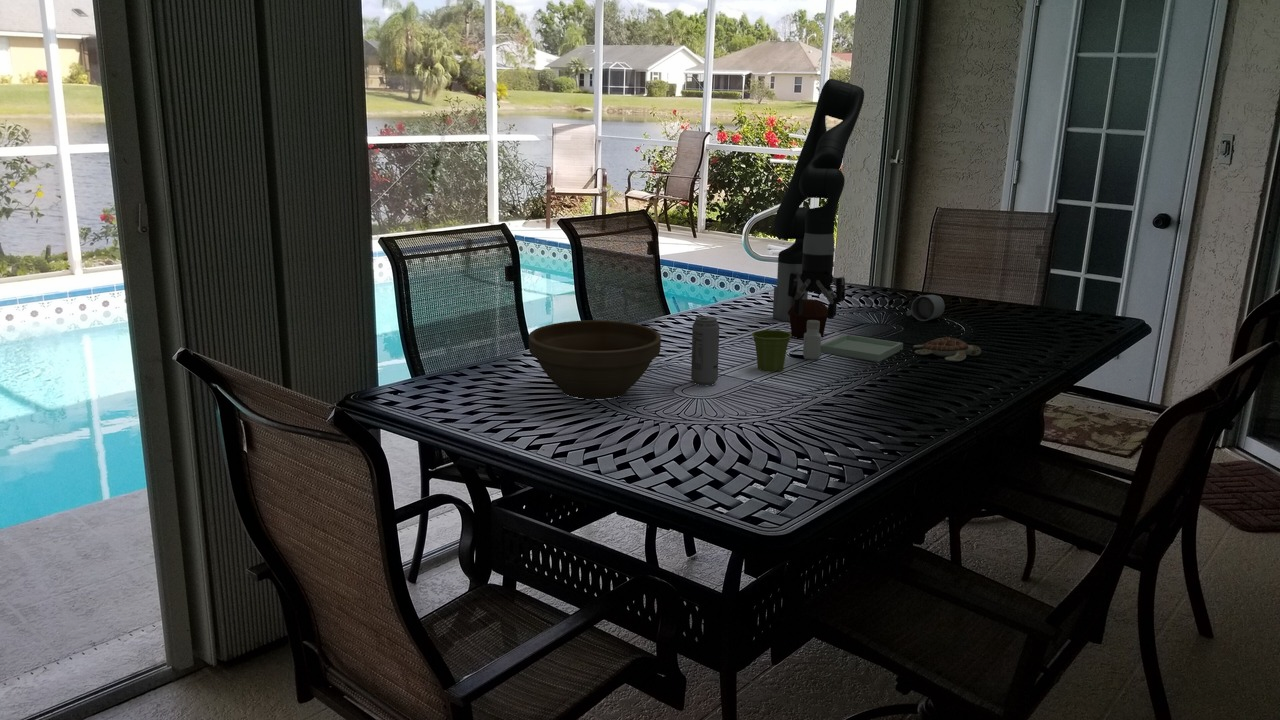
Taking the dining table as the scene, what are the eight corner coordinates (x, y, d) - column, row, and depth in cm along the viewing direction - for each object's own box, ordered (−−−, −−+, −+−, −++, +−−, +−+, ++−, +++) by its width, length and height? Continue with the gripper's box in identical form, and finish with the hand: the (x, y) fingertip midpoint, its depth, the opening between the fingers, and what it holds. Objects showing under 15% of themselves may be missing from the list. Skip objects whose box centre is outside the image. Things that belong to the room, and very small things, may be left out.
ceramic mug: (945, 318, 284) (947, 293, 282) (933, 323, 278) (935, 297, 277) (913, 314, 291) (914, 290, 289) (900, 318, 285) (902, 293, 283)
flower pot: (677, 406, 196) (678, 344, 193) (543, 416, 189) (542, 353, 185) (638, 371, 223) (639, 317, 219) (519, 379, 215) (518, 323, 212)
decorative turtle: (985, 367, 231) (987, 347, 230) (916, 363, 234) (917, 343, 233) (975, 349, 248) (977, 331, 247) (910, 346, 252) (912, 328, 250)
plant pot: (746, 372, 223) (747, 336, 221) (755, 362, 232) (757, 328, 229) (785, 376, 220) (787, 340, 218) (793, 366, 228) (795, 331, 226)
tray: (819, 352, 243) (820, 345, 242) (845, 340, 255) (846, 334, 255) (878, 361, 233) (879, 354, 233) (902, 349, 246) (903, 343, 245)
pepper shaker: (802, 355, 239) (804, 319, 236) (818, 356, 238) (820, 319, 236) (803, 359, 235) (805, 322, 232) (820, 360, 234) (822, 323, 232)
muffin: (800, 342, 253) (802, 305, 251) (778, 333, 263) (780, 298, 261) (837, 338, 258) (839, 302, 255) (813, 330, 268) (815, 295, 265)
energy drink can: (720, 386, 211) (722, 320, 207) (694, 387, 210) (695, 321, 206) (714, 378, 217) (715, 315, 213) (688, 379, 216) (690, 316, 212)
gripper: (785, 250, 231) (782, 315, 235) (838, 255, 223) (835, 322, 227) (798, 247, 237) (795, 310, 241) (851, 252, 229) (847, 317, 233)
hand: (814, 316), depth 234 cm, fingers open, 8 cm apart
